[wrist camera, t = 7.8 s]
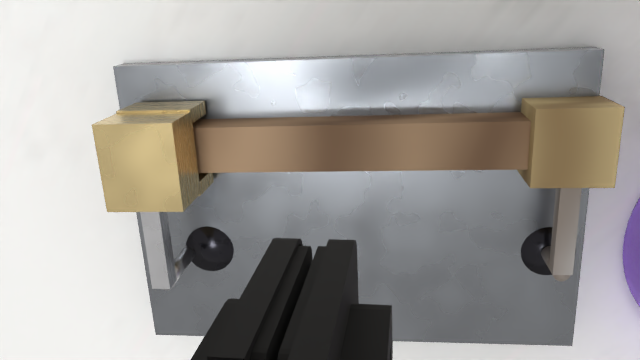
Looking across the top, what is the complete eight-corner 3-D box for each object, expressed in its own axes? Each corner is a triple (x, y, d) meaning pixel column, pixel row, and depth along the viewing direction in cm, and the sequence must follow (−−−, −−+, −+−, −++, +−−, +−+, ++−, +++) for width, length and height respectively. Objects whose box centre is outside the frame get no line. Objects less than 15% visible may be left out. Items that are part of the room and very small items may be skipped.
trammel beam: (601, 96, 23) (624, 107, 21) (583, 258, 26) (602, 284, 23) (119, 108, 26) (94, 119, 24) (143, 254, 28) (121, 277, 26)
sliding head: (204, 100, 25) (171, 120, 21) (222, 258, 27) (194, 301, 24) (136, 102, 25) (91, 122, 22) (159, 257, 28) (122, 300, 24)
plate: (595, 47, 24) (604, 49, 23) (565, 333, 28) (572, 346, 27) (123, 63, 26) (112, 66, 25) (163, 324, 31) (155, 335, 30)
